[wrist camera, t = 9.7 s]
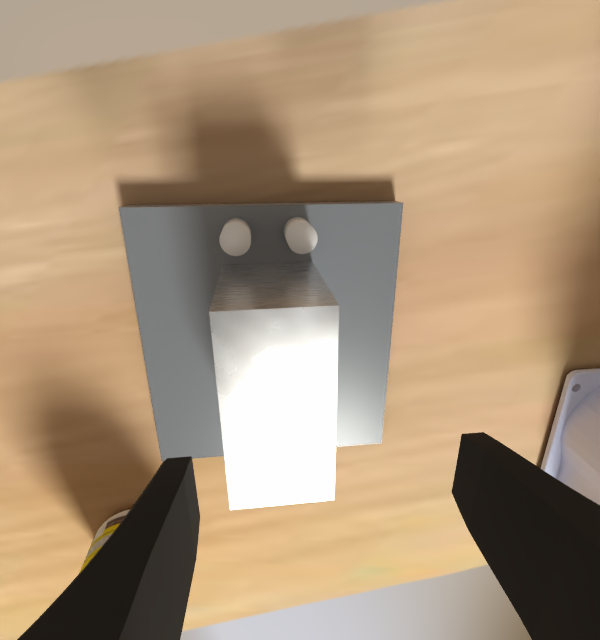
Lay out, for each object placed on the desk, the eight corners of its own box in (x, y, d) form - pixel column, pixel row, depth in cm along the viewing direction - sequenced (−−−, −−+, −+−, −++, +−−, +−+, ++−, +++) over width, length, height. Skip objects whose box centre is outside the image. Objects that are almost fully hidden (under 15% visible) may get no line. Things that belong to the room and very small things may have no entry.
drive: (312, 410, 21) (334, 499, 15) (235, 416, 20) (229, 509, 15) (311, 260, 18) (339, 305, 12) (222, 264, 17) (208, 312, 12)
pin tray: (376, 431, 23) (393, 468, 20) (165, 448, 22) (153, 489, 19) (395, 200, 18) (421, 207, 16) (126, 205, 17) (101, 213, 14)
